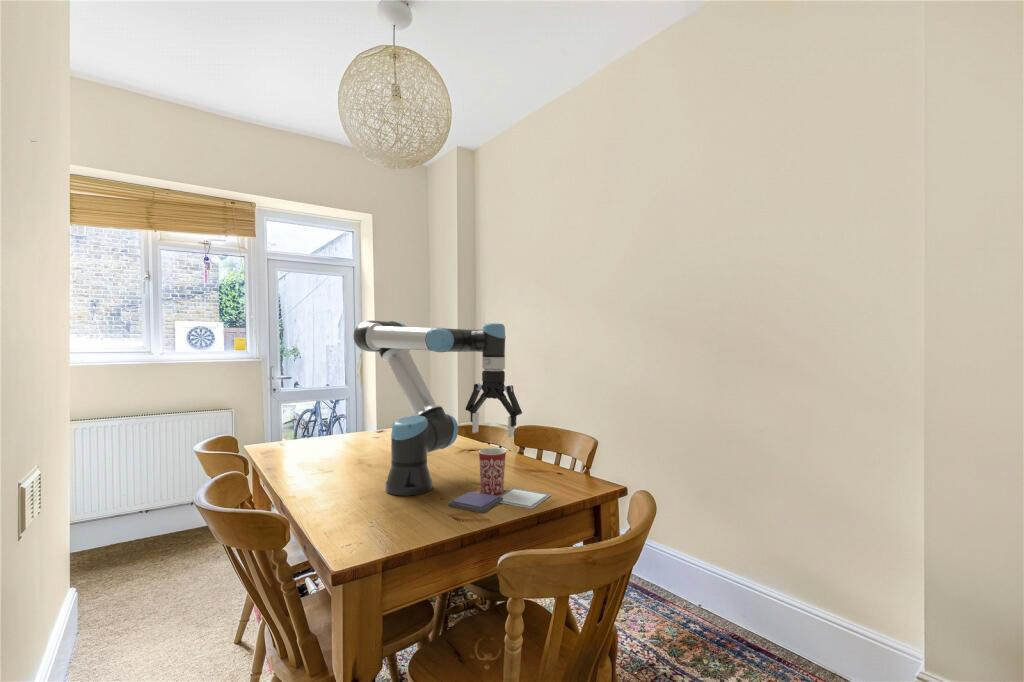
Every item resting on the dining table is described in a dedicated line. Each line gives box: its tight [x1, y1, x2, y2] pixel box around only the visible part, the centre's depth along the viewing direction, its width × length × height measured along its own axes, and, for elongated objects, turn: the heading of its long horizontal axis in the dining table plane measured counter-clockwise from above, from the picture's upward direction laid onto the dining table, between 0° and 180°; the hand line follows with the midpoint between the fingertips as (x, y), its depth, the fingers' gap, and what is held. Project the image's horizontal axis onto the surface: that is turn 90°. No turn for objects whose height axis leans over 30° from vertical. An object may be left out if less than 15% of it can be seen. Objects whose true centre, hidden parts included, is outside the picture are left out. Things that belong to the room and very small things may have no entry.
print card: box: [498, 487, 552, 510], centre depth 145 cm, size 14×14×1 cm
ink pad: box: [447, 491, 503, 514], centre depth 140 cm, size 12×12×1 cm
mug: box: [478, 447, 507, 496], centre depth 153 cm, size 13×9×14 cm
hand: (492, 434), depth 153 cm, fingers open, 13 cm apart
